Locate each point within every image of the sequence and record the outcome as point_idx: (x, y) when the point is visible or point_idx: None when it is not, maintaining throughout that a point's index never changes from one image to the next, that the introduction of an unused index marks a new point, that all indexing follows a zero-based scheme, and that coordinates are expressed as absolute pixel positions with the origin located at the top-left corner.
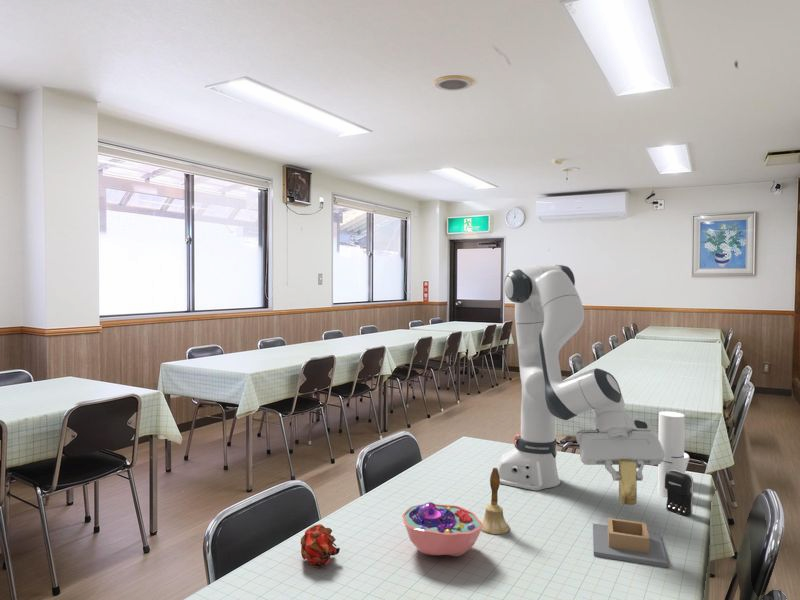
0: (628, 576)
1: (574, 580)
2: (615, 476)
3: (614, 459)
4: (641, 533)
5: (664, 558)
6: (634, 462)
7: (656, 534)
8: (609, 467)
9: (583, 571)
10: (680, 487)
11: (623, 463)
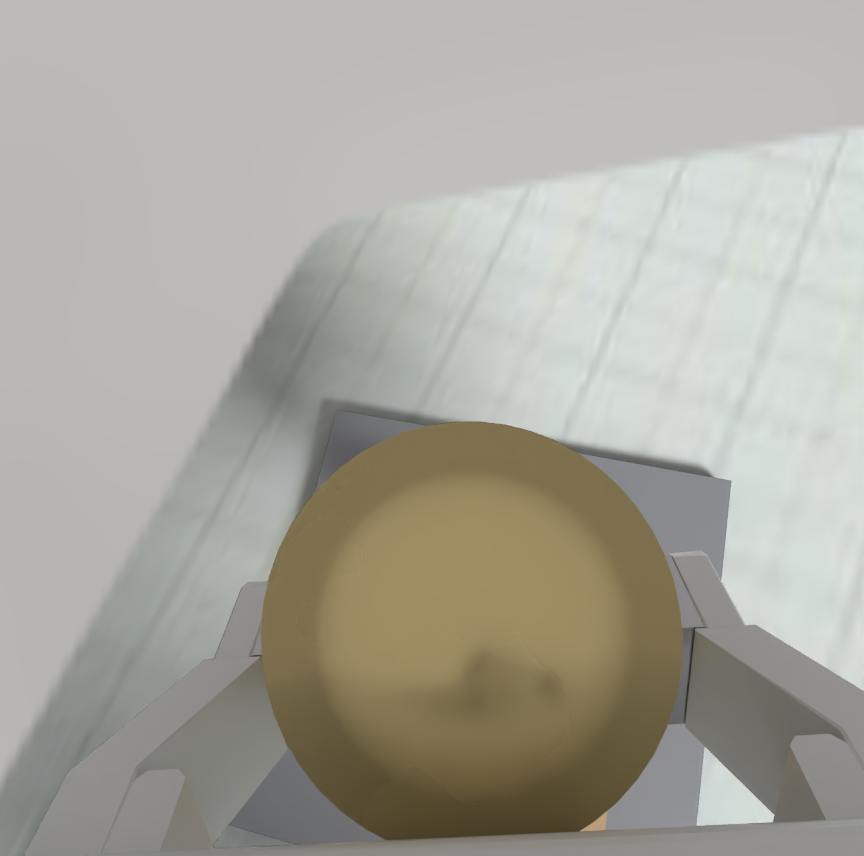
0: (570, 304)
1: (849, 226)
2: (694, 553)
3: (774, 832)
4: None
5: (335, 458)
6: (316, 563)
7: (255, 790)
8: (841, 681)
9: (797, 312)
10: None
11: (599, 474)
